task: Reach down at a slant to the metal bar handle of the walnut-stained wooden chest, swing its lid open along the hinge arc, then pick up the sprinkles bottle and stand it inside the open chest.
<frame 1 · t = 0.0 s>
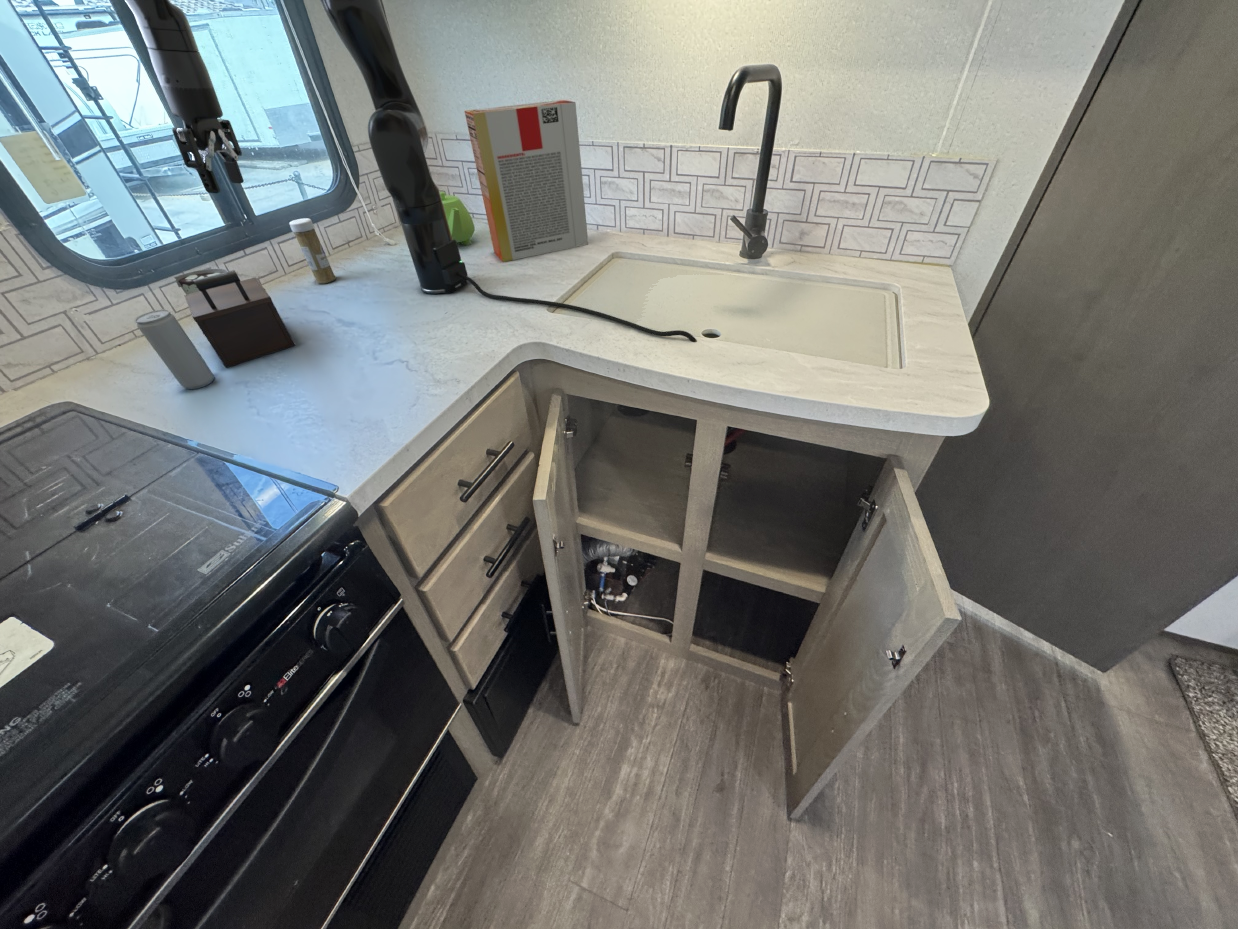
hand: (226, 187, 97), 22 cm above the worktop, tool pointing down, fingers open, 8 cm apart
teapot: (452, 244, 136), on the worktop
chest: (255, 344, 94), on the worktop
sprinkles bottle: (326, 281, 119), on the worktop
lid: (219, 284, 86), point 12 cm above the worktop, hinge at 0.0°
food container: (238, 322, 103), on the worktop
pasta box: (541, 249, 128), on the worktop
beverage can: (200, 383, 84), on the worktop
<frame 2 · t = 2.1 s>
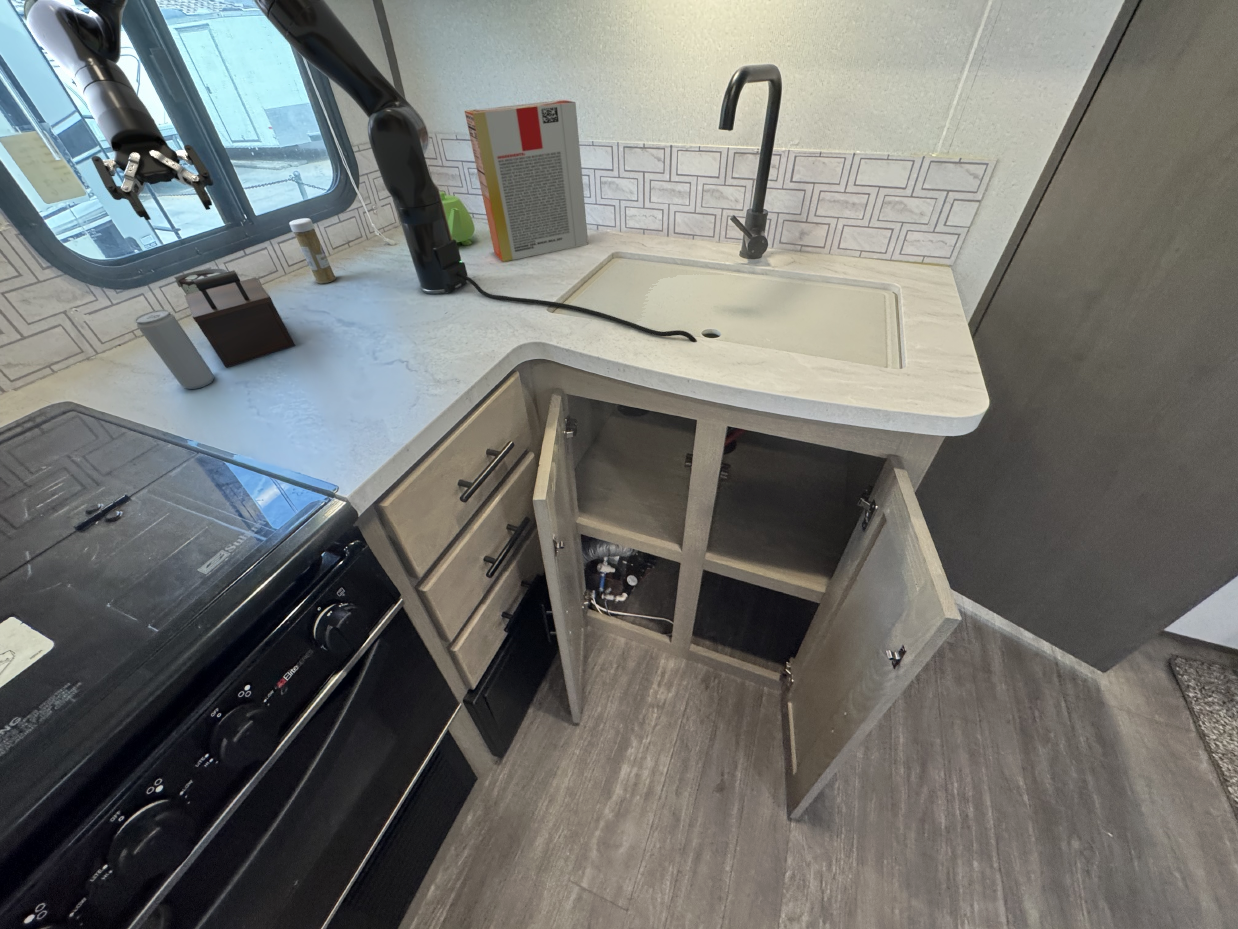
hand: (177, 211, 83), 22 cm above the worktop, tool tilted 45°, fingers open, 8 cm apart
nothing on the worktop moved.
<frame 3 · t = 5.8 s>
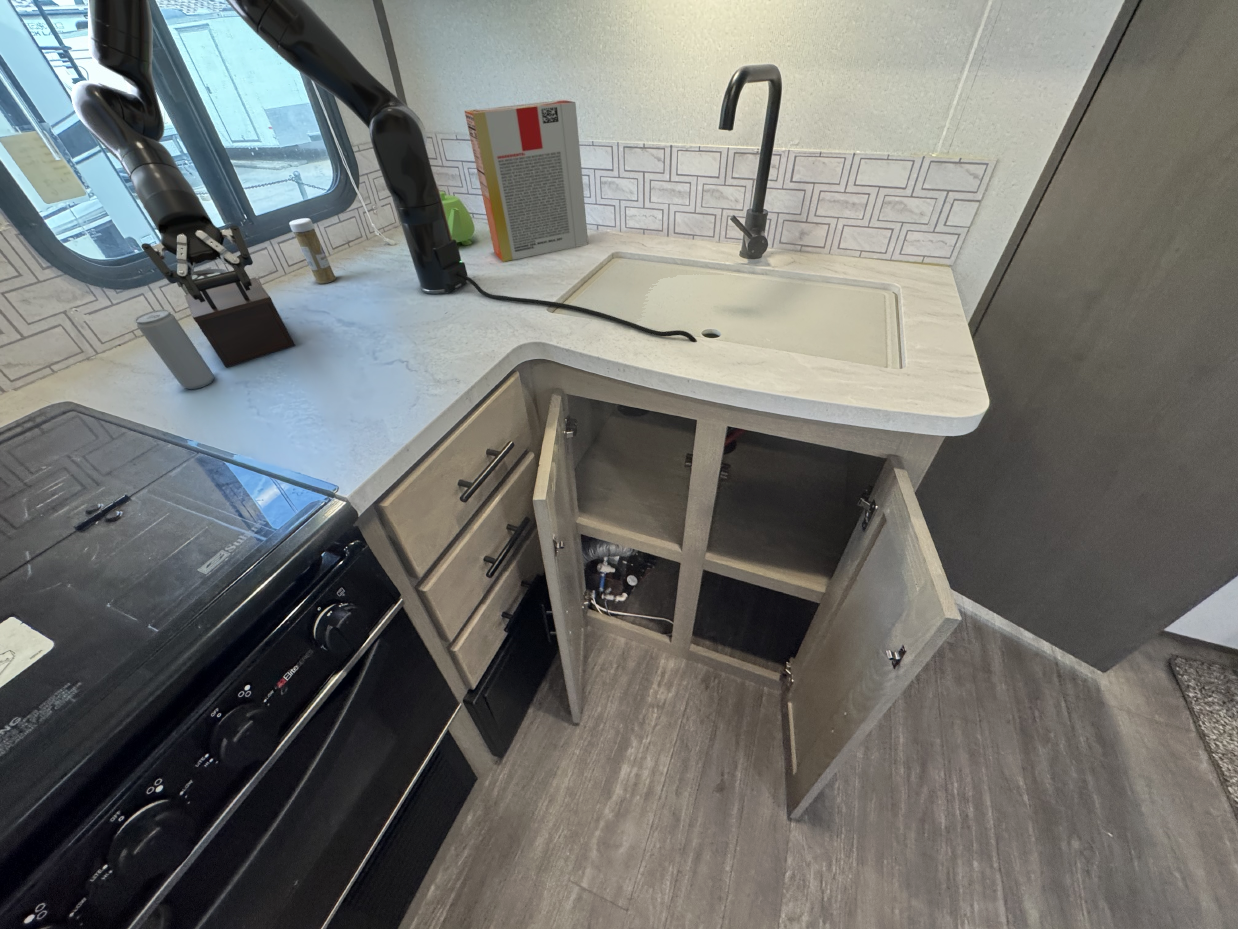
hand: (225, 293, 82), 12 cm above the worktop, tool tilted 45°, fingers closed on lid, 6 cm apart
lid: (219, 284, 86), point 12 cm above the worktop, hinge at -0.1°, touching gripper
everything else where it was.
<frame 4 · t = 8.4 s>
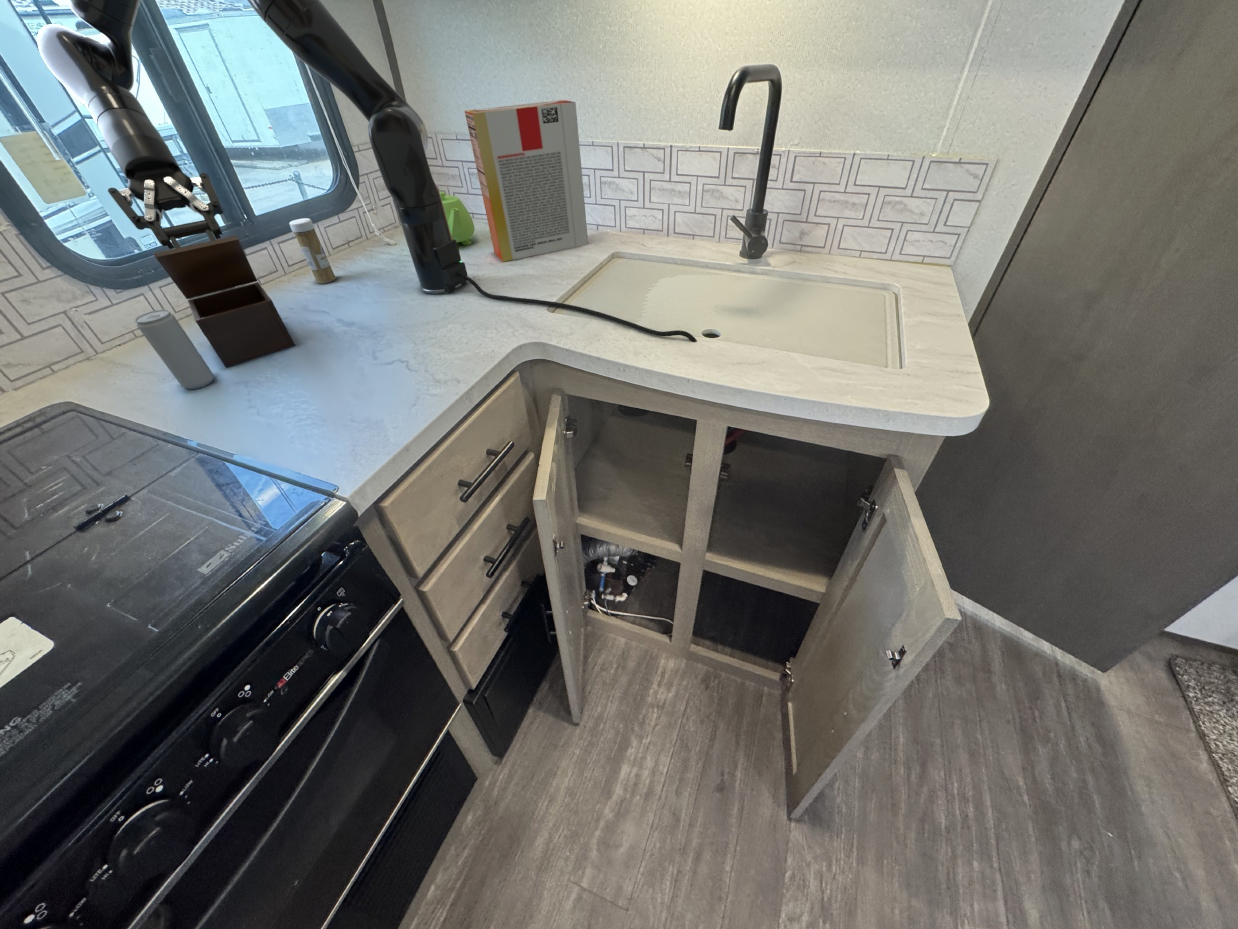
hand: (194, 240, 81), 19 cm above the worktop, tool tilted 45°, fingers closed on lid, 6 cm apart
lid: (203, 256, 86), point 16 cm above the worktop, hinge at 44.7°, touching gripper
everything else where it was.
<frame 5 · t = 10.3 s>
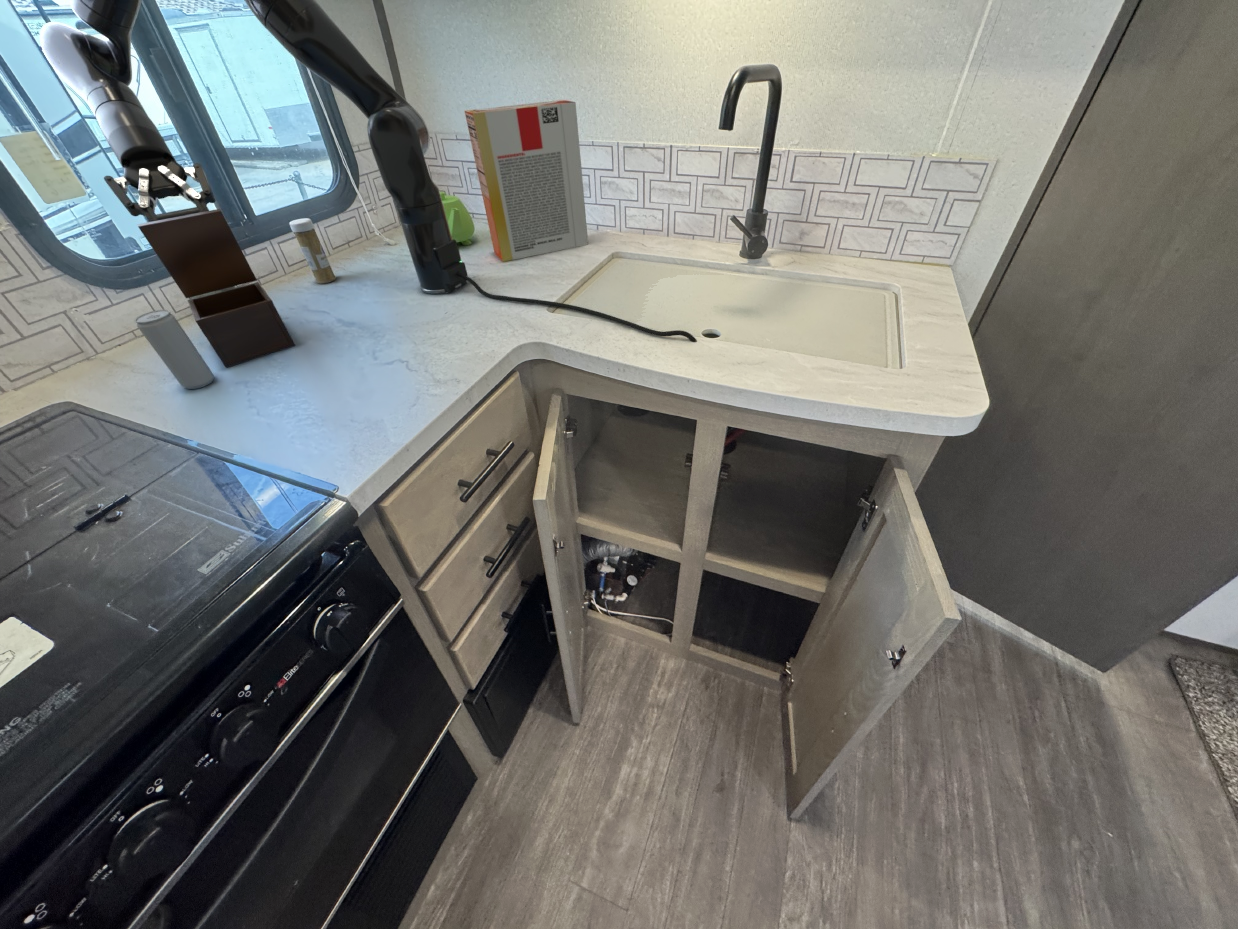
hand: (186, 226, 84), 20 cm above the worktop, tool tilted 45°, fingers closed on lid, 6 cm apart
lid: (198, 247, 87), point 16 cm above the worktop, hinge at 72.8°, touching gripper
everything else where it was.
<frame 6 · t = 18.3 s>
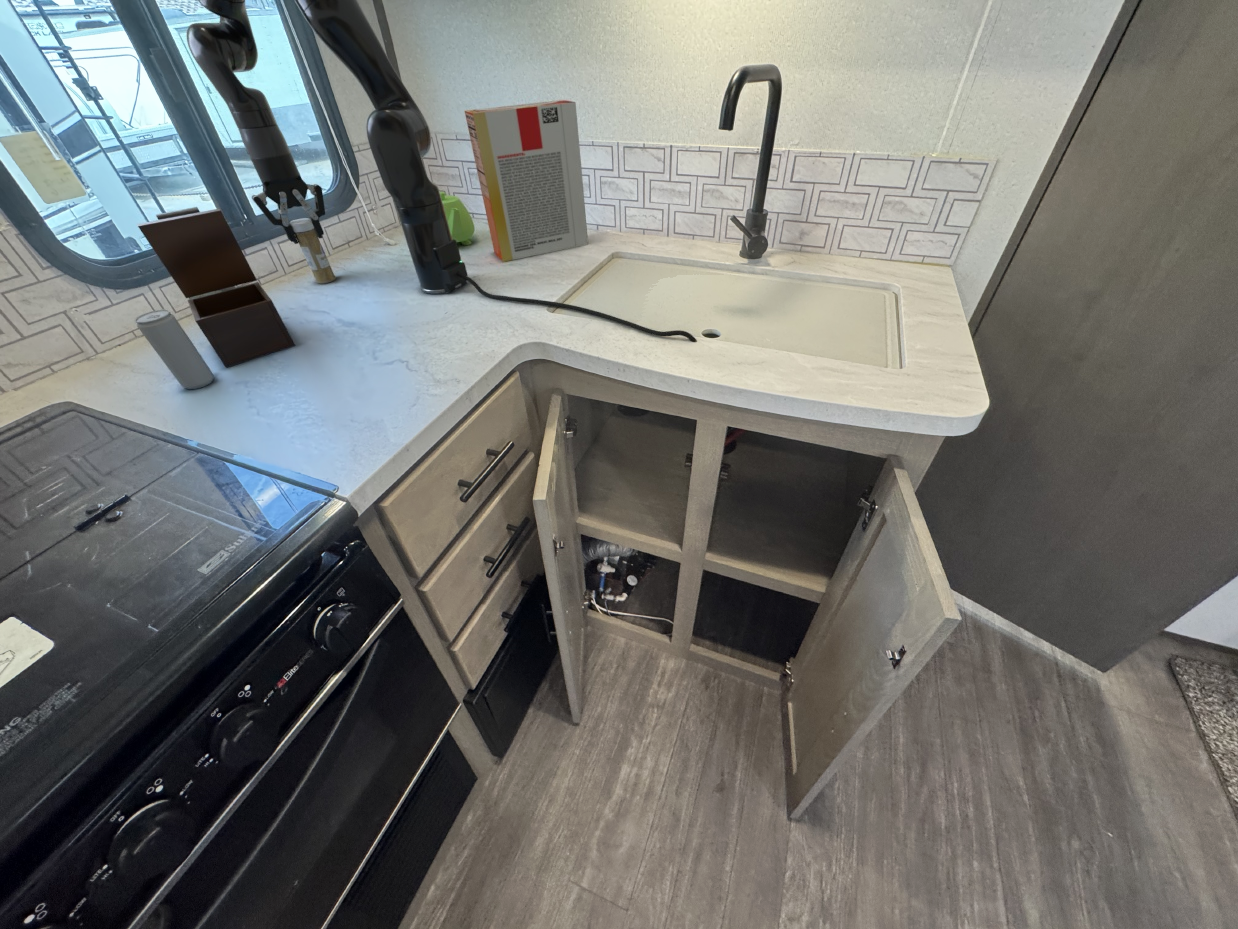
hand: (308, 239, 113), 9 cm above the worktop, tool pointing down, fingers closed on sprinkles bottle, 4 cm apart
sprinkles bottle: (326, 281, 119), on the worktop, touching gripper
lid: (198, 247, 87), point 16 cm above the worktop, hinge at 73.3°
everything else where it was.
when the fingers open (10 cm above the worktop, at t = 28.6 s): sprinkles bottle stays where it is, resting on chest.
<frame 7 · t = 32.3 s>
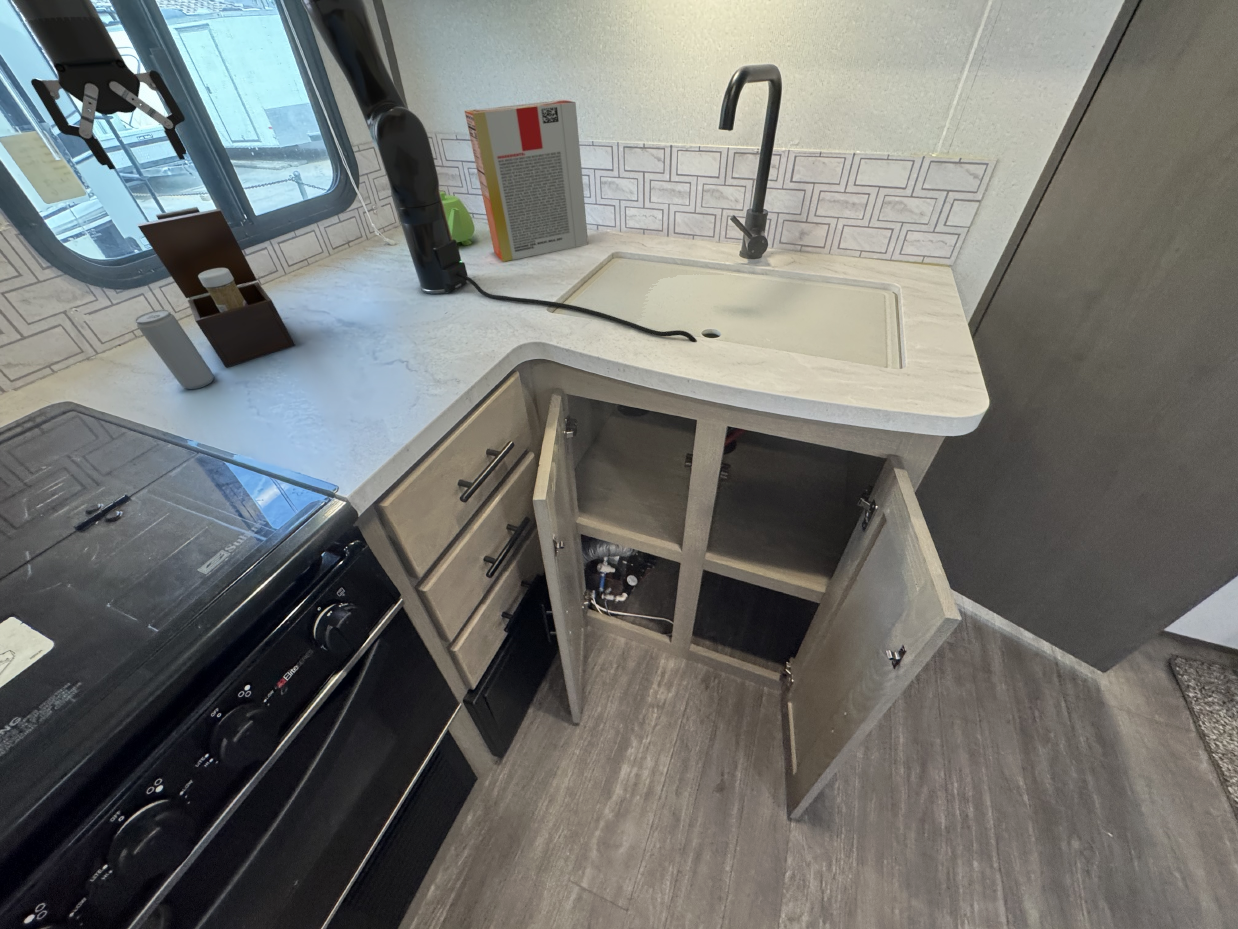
hand: (148, 163, 73), 30 cm above the worktop, tool pointing down, fingers open, 8 cm apart
sprinkles bottle: (255, 345, 92), point 1 cm above the worktop, touching chest
everything else where it was.
at the end: lid at +73° (first picture: +0°); sprinkles bottle inside the target area in the chest (1.8 cm from its centre), point 0.6 cm above the chest's base; sprinkles bottle tilted 0° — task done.
